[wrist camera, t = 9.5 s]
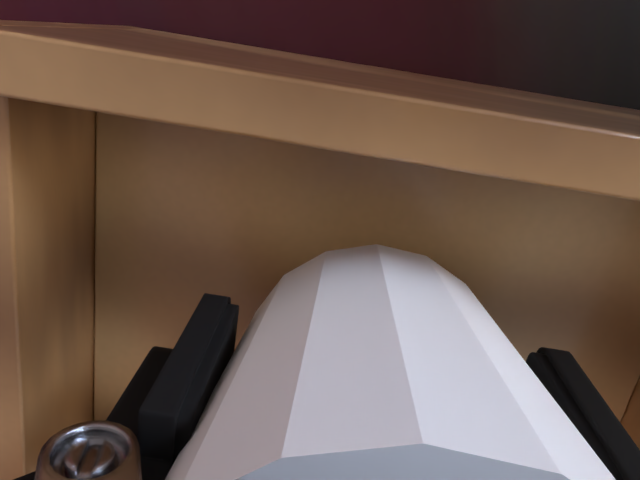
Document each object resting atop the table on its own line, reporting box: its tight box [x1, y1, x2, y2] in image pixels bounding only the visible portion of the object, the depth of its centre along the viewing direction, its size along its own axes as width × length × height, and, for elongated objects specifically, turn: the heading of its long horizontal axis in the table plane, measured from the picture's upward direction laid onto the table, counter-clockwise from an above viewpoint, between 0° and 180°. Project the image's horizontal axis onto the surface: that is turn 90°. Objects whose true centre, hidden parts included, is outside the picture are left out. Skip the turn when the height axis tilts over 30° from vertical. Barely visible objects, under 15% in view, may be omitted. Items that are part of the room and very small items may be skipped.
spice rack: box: [0, 20, 640, 480], centre depth 14 cm, size 12×17×8 cm
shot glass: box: [165, 244, 616, 480], centre depth 9 cm, size 7×7×7 cm
